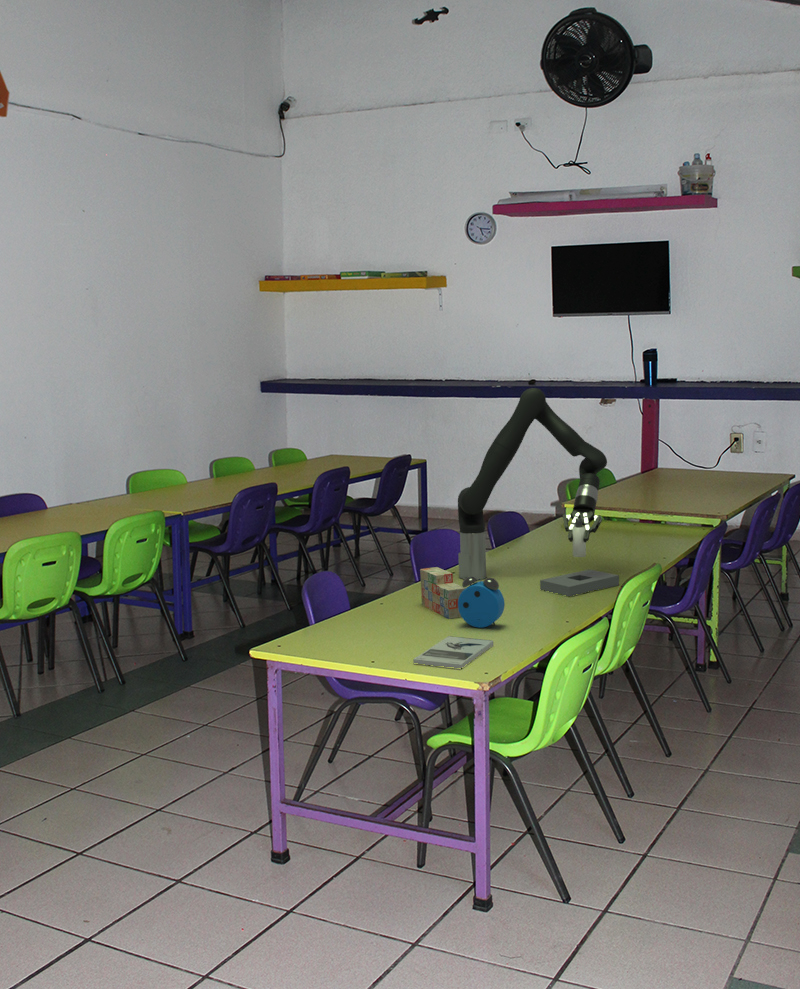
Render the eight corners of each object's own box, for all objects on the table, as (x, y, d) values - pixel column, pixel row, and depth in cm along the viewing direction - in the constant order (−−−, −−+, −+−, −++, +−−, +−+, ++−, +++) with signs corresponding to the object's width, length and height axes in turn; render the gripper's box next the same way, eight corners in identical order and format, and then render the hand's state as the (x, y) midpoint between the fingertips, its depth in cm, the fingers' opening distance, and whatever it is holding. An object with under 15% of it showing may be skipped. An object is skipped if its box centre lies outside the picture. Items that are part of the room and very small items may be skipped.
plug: (579, 557, 337) (578, 519, 335) (570, 555, 341) (569, 518, 339) (588, 555, 340) (587, 518, 338) (579, 553, 343) (578, 516, 342)
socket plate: (569, 597, 329) (569, 586, 329) (540, 590, 341) (540, 580, 340) (619, 585, 343) (618, 575, 342) (589, 578, 354) (589, 569, 354)
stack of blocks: (466, 616, 310) (465, 578, 308) (448, 619, 308) (447, 580, 306) (438, 602, 330) (437, 566, 328) (421, 604, 328) (419, 568, 326)
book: (461, 671, 258) (460, 664, 258) (413, 666, 264) (413, 659, 264) (493, 647, 278) (493, 640, 278) (448, 642, 284) (448, 635, 284)
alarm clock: (505, 625, 298) (504, 576, 296) (498, 630, 293) (497, 581, 291) (465, 621, 304) (463, 574, 302) (457, 626, 299) (456, 578, 296)
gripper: (563, 493, 347) (555, 533, 338) (604, 494, 341) (596, 535, 332) (568, 506, 353) (559, 546, 343) (607, 507, 347) (600, 547, 338)
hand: (577, 540), depth 338 cm, fingers closed on plug, 4 cm apart
